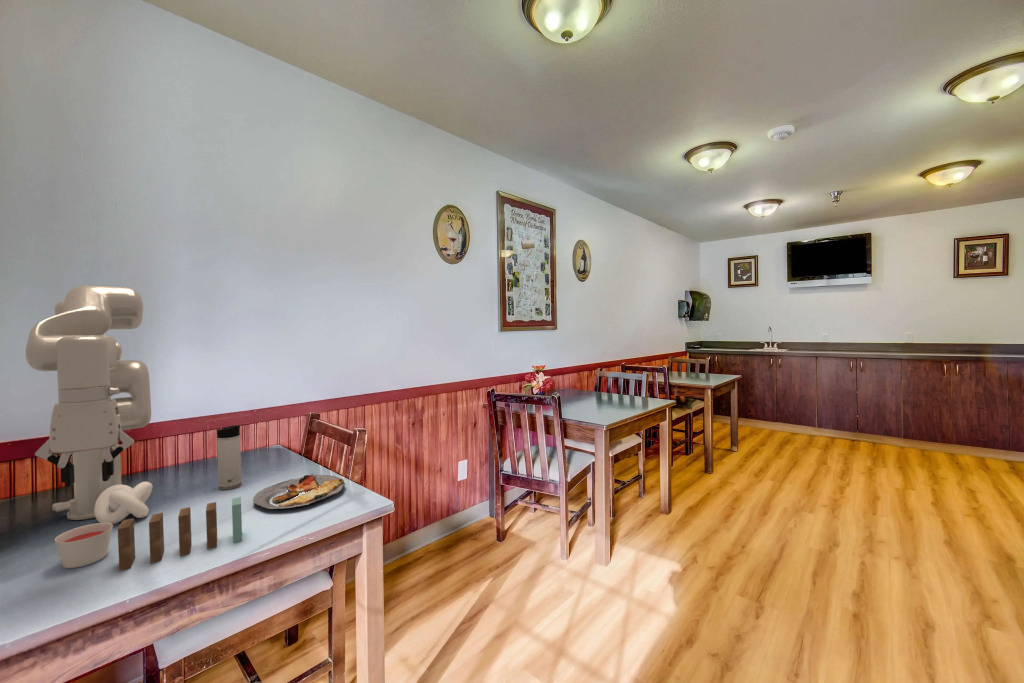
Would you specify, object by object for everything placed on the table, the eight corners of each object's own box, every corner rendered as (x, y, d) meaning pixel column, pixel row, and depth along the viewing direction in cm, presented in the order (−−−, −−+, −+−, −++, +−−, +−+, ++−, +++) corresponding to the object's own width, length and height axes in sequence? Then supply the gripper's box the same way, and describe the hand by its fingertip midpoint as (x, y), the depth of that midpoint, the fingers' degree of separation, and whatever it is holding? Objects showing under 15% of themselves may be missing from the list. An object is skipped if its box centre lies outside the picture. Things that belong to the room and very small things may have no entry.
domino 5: (233, 542, 99) (231, 505, 99) (233, 534, 103) (232, 498, 103) (242, 540, 100) (240, 503, 100) (242, 532, 104) (240, 496, 104)
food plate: (315, 476, 144) (315, 466, 144) (360, 489, 132) (360, 478, 132) (237, 504, 123) (237, 493, 122) (283, 523, 111) (282, 510, 110)
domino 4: (207, 549, 96) (205, 511, 96) (208, 540, 100) (206, 503, 100) (216, 547, 97) (215, 509, 97) (217, 538, 101) (216, 501, 101)
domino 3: (179, 556, 93) (178, 516, 93) (181, 546, 97) (180, 508, 97) (189, 553, 94) (188, 514, 94) (191, 544, 98) (190, 507, 98)
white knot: (164, 514, 115) (163, 482, 115) (106, 533, 105) (104, 498, 104) (147, 506, 121) (146, 476, 121) (90, 523, 110) (89, 490, 110)
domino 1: (119, 571, 88) (117, 529, 88) (124, 560, 92) (122, 520, 92) (130, 568, 89) (129, 526, 89) (135, 557, 93) (133, 518, 93)
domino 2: (150, 563, 91) (148, 522, 90) (154, 553, 95) (152, 514, 94) (161, 560, 92) (159, 520, 91) (164, 551, 96) (162, 512, 95)
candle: (124, 548, 97) (123, 522, 97) (86, 571, 88) (85, 541, 88) (85, 550, 97) (84, 523, 96) (42, 572, 88) (41, 543, 88)
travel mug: (234, 490, 132) (232, 427, 132) (213, 490, 132) (211, 428, 132) (247, 483, 139) (245, 423, 138) (227, 483, 139) (225, 423, 138)
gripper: (142, 389, 94) (145, 469, 95) (32, 397, 85) (35, 485, 85) (136, 393, 88) (139, 478, 88) (16, 402, 78) (20, 497, 79)
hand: (88, 481), depth 87 cm, fingers open, 4 cm apart
